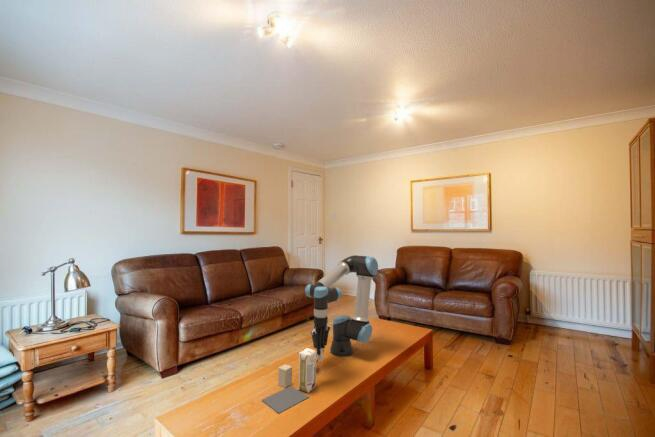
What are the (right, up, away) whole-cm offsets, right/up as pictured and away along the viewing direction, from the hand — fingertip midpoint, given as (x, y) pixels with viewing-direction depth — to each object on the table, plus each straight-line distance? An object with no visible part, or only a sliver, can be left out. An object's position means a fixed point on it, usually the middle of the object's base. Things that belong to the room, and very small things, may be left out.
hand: (320, 360), depth 161 cm
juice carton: (-7, -12, -7) cm, 15 cm away
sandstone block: (-19, -11, -3) cm, 22 cm away
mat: (-16, -11, -16) cm, 26 cm away
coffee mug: (-5, -12, +12) cm, 18 cm away
